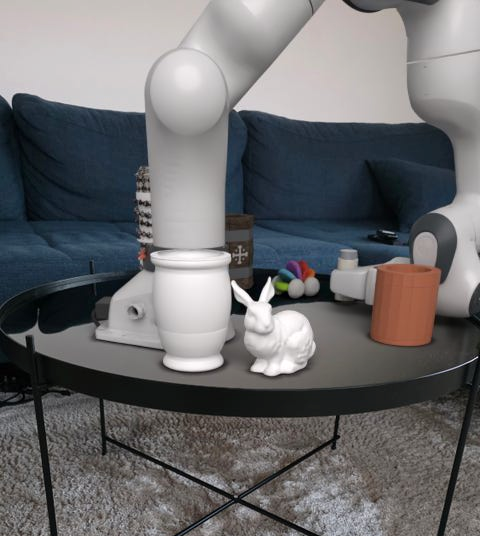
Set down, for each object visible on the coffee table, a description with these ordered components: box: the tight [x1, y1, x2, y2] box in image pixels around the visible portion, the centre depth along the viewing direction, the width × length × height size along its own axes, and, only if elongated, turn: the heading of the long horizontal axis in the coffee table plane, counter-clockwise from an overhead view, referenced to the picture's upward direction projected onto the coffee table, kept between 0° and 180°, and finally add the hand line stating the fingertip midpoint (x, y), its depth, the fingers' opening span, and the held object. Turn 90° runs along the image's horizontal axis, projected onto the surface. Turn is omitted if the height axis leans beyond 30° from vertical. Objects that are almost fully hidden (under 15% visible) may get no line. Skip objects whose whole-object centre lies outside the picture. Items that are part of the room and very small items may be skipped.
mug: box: [225, 212, 255, 292], centre depth 132 cm, size 20×14×15 cm
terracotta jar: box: [369, 264, 441, 347], centre depth 94 cm, size 10×10×11 cm
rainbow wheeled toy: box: [271, 259, 321, 300], centre depth 124 cm, size 8×10×7 cm
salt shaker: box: [334, 248, 359, 302], centre depth 118 cm, size 4×4×10 cm
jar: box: [150, 249, 232, 373], centre depth 80 cm, size 11×10×15 cm
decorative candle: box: [132, 165, 153, 272], centre depth 115 cm, size 9×9×25 cm
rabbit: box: [231, 276, 317, 377], centre depth 80 cm, size 12×9×12 cm
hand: (343, 272), depth 118 cm, fingers closed on salt shaker, 4 cm apart
